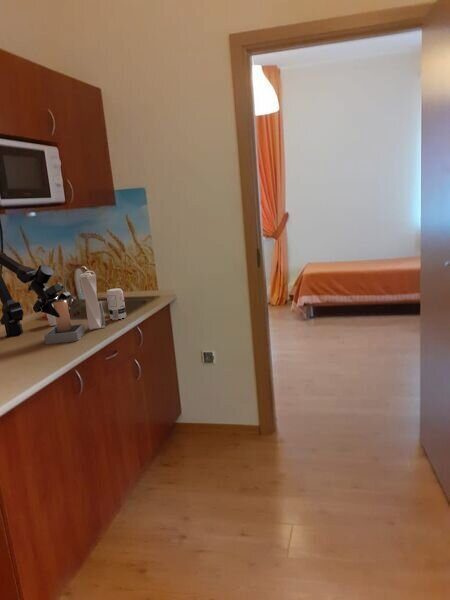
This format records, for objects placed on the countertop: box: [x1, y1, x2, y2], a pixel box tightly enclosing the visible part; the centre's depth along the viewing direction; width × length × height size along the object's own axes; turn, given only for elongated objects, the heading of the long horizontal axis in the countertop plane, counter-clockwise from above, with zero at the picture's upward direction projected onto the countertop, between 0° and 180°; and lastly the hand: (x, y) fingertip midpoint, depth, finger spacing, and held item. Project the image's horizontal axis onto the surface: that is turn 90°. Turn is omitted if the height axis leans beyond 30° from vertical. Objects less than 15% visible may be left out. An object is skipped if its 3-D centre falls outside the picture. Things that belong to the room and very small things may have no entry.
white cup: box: [46, 304, 57, 327], centre depth 243 cm, size 8×8×10 cm
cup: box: [53, 299, 72, 331], centre depth 213 cm, size 6×6×13 cm
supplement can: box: [106, 287, 127, 321], centre depth 241 cm, size 8×8×15 cm
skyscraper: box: [79, 270, 107, 331], centre depth 225 cm, size 8×8×28 cm
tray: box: [44, 323, 86, 345], centre depth 214 cm, size 14×14×4 cm
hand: (64, 315), depth 212 cm, fingers closed on cup, 6 cm apart
